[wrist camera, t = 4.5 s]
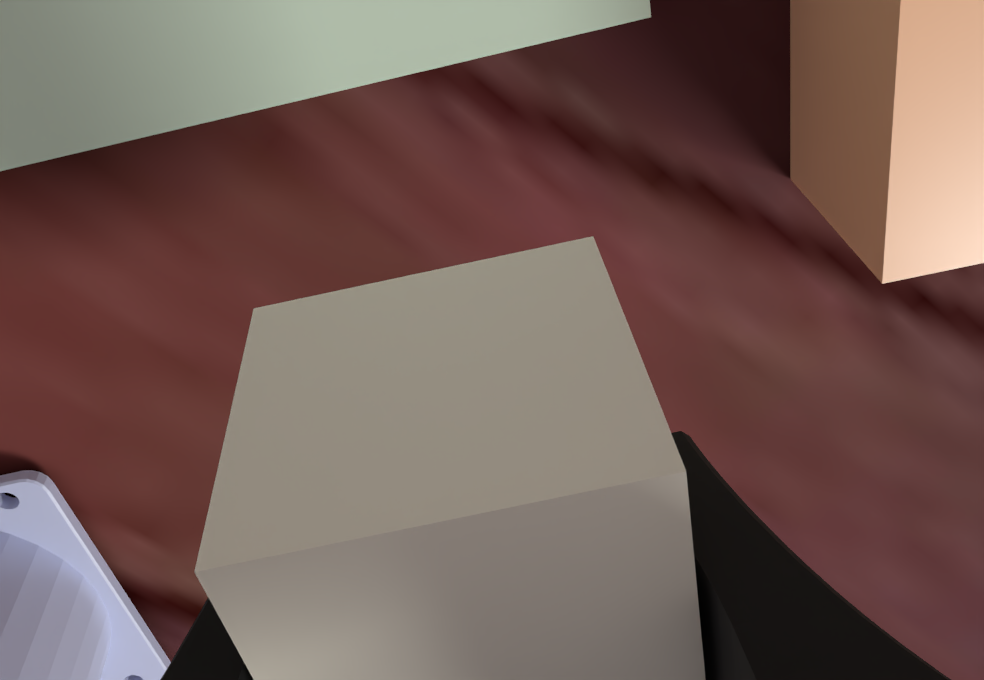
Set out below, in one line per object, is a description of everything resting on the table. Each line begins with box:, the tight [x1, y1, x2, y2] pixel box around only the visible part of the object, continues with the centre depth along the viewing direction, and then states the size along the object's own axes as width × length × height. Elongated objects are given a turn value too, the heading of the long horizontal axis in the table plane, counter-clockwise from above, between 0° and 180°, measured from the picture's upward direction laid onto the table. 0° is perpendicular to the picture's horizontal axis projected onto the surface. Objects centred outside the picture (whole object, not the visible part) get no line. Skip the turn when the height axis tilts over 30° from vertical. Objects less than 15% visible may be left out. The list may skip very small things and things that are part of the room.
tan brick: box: [790, 0, 984, 284], centre depth 16 cm, size 4×6×4 cm
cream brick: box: [195, 236, 706, 680], centre depth 12 cm, size 4×6×4 cm
